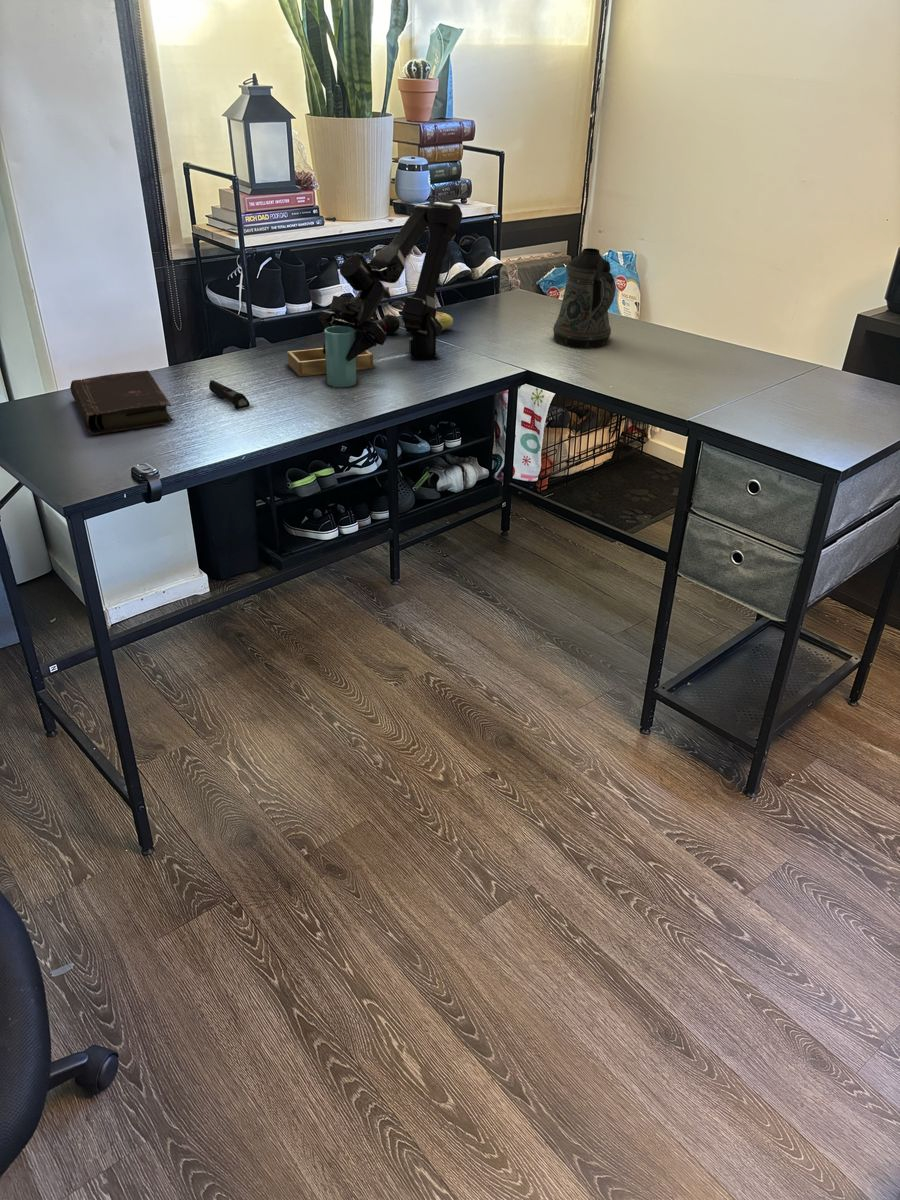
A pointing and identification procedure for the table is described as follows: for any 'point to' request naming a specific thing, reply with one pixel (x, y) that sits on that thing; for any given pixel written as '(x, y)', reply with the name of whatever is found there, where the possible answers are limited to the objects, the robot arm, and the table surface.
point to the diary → (120, 402)
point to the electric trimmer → (229, 395)
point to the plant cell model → (443, 320)
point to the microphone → (388, 324)
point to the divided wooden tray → (321, 361)
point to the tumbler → (339, 356)
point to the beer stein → (586, 302)
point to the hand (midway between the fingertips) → (335, 356)
